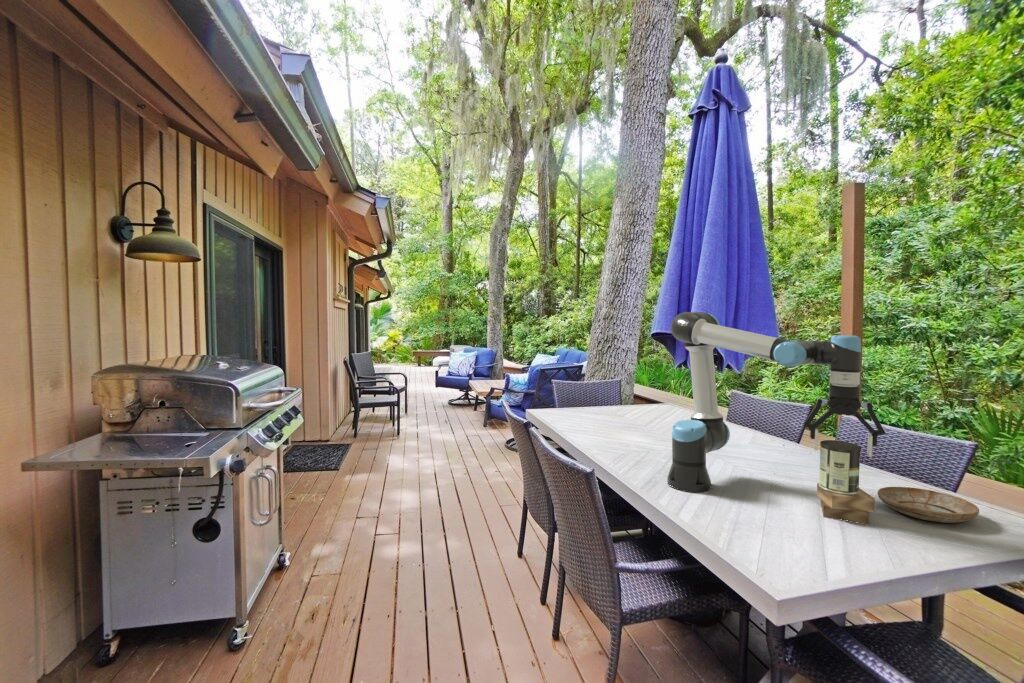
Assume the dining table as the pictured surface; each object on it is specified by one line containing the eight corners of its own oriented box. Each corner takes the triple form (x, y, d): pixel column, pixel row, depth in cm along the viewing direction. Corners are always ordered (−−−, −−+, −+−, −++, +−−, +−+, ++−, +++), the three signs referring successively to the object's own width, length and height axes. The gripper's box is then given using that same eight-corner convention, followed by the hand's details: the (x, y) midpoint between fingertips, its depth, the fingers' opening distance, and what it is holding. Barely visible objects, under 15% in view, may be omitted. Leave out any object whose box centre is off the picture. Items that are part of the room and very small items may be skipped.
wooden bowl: (977, 513, 140) (977, 497, 140) (980, 539, 123) (980, 521, 123) (881, 494, 157) (882, 480, 156) (872, 514, 140) (873, 499, 140)
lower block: (823, 518, 138) (823, 505, 138) (820, 506, 148) (820, 494, 147) (868, 526, 133) (868, 512, 132) (862, 512, 142) (862, 500, 142)
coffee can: (847, 483, 145) (849, 440, 144) (866, 496, 135) (868, 450, 134) (812, 481, 147) (814, 438, 146) (827, 493, 137) (829, 448, 136)
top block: (832, 508, 136) (832, 495, 136) (817, 495, 146) (817, 483, 146) (874, 511, 133) (874, 498, 133) (856, 498, 144) (856, 485, 144)
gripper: (797, 383, 142) (794, 449, 143) (899, 389, 129) (896, 462, 130) (796, 380, 149) (794, 444, 150) (894, 386, 136) (891, 455, 137)
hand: (841, 452), depth 140 cm, fingers open, 13 cm apart
